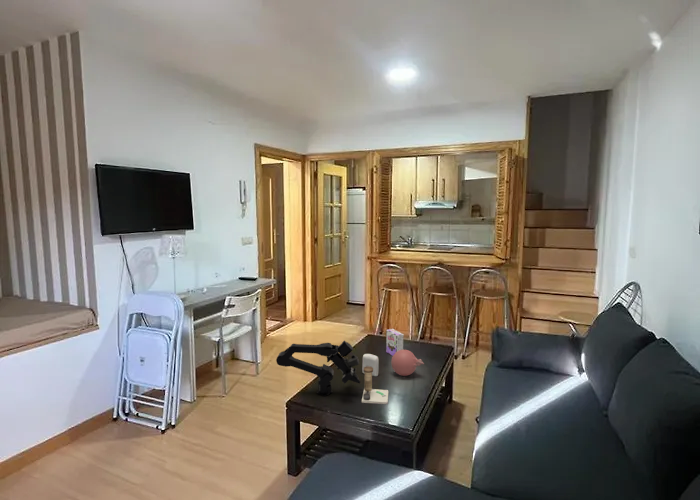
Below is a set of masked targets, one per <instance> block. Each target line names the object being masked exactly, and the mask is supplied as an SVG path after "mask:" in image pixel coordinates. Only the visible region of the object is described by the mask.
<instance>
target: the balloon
mask: <svg viewBox="0 0 700 500" xmlns="http://www.w3.org/2000/svg"><path fill="white" fill-rule="evenodd" d="M390 361H391V363H390V364H391V368H392V370H393V372H394V373H396V374H397V375H399V376H403V377H407V376H410V375H412V374H413V373H414V372H415V371H416V369H417V367H418V366H419V367H421V365H425V363H424V362H423V360H422V359H421V358H419V359H418V358H417V357H416V356H415V355H414V352H412V351H410V350H408V349H403V350H399V351H397V352H396V353H395V354H394V355H393V356H392V357H391V360H390Z"/></svg>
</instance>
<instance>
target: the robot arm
mask: <svg viewBox="0 0 700 500" xmlns="http://www.w3.org/2000/svg"><path fill="white" fill-rule="evenodd" d="M341 342H342V343H341V344H340V345H337V344H332V343H331V342H322V343H319V344H301V343H292V344H290V345H289V346H288V347H287V348H286V349H285V350H283V351H281V352H279V353H278V355H277V356H276V360H275V361H276V364H277V365H278V366H280V367H284V368H285V367H286V368H287V367H293V368H296V369H298V370H302V371H304V372H307V373H310V374H314V375H315V376H317V377H318V382H317V383H318V386H317V387H318V390H317V391H316V393H317V394H318V395H321V396H324V397H326V396H328V395H330V394H332V393H333V390H332V384H331V381H332V380H333V379H334V374H335V373H334V372H335V371H334V369H333V368H332V367H331V365H327V364H325V363H323V364H322V365H320V366H319V365H316V364H313V363H310V362H307V361H305V360H301V359H298V358H295V357H294V356H293V355H294V354H299V353H300V354H317V355H320V356H322V357H326V363H330V361H331V363H333V364H334V365H335V366H336V369H337V370H338V371H339V370H340V371H341V373H342V375H343V376H342V378H341V381H342V383H343V384H346V383H347V382H348V381H351V382H353V383H356V384H360V383H361V380H360V378H359V375H358V374H357V368H356V367H355V366H359V364H360V360H359V356H357V355H356V354H352V355H351V358H349V359H347V358H346V357H348V355H349V354H350V353H351V352H352V351H354V347H353V346H352V345H351V343H349V342H347V341H346V340H343V341H341ZM344 357H345V358H344ZM354 367H355V368H354Z"/></svg>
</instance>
